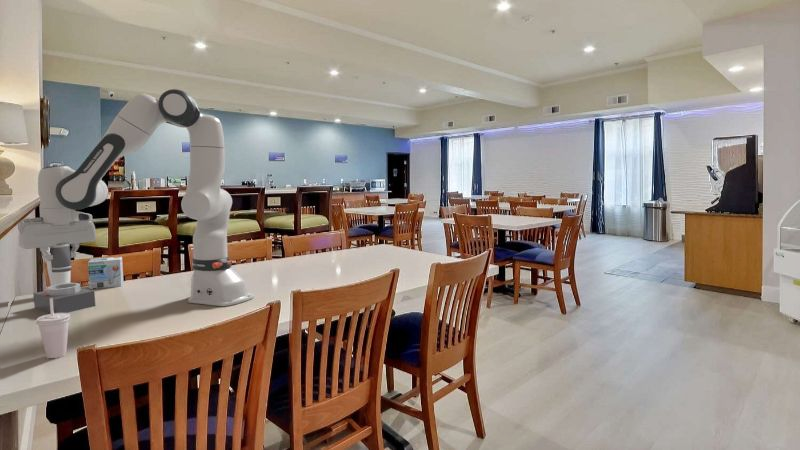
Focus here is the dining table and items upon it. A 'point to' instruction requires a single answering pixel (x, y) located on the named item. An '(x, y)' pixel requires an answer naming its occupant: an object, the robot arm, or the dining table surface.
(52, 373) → the dining table surface
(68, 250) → the lens
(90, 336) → the dining table surface
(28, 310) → the dining table surface
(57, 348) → the smoothie
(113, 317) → the dining table surface
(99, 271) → the light bulb box
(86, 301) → the camera body
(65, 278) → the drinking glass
